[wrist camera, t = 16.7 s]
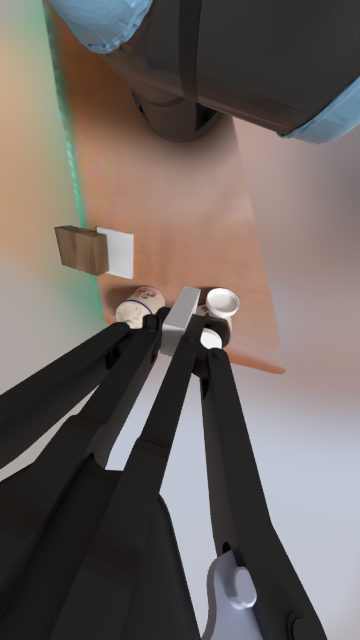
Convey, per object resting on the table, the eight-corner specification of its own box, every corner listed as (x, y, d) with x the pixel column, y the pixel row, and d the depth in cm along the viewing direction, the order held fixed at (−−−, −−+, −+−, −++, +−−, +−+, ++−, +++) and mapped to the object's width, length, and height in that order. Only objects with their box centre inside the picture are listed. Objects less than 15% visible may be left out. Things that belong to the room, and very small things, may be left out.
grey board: (99, 226, 42) (96, 227, 42) (133, 233, 41) (131, 234, 41) (103, 270, 48) (100, 271, 47) (133, 277, 47) (131, 279, 46)
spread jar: (193, 329, 51) (183, 360, 41) (184, 289, 45) (170, 315, 36) (241, 327, 47) (242, 361, 38) (238, 283, 42) (237, 310, 32)
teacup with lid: (161, 282, 46) (141, 305, 36) (170, 315, 50) (154, 343, 41) (118, 287, 50) (89, 309, 40) (130, 318, 54) (107, 344, 45)
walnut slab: (109, 270, 46) (75, 260, 49) (106, 234, 42) (70, 225, 44) (97, 275, 43) (62, 264, 45) (93, 237, 38) (54, 227, 41)
